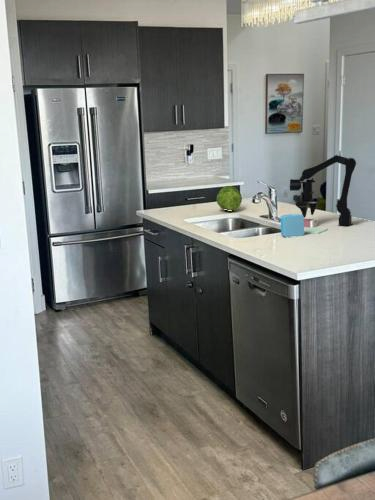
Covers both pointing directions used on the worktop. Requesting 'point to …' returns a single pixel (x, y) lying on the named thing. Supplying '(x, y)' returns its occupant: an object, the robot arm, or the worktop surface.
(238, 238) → the worktop surface
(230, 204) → the lettuce
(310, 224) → the card deck
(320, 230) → the mat
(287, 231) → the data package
